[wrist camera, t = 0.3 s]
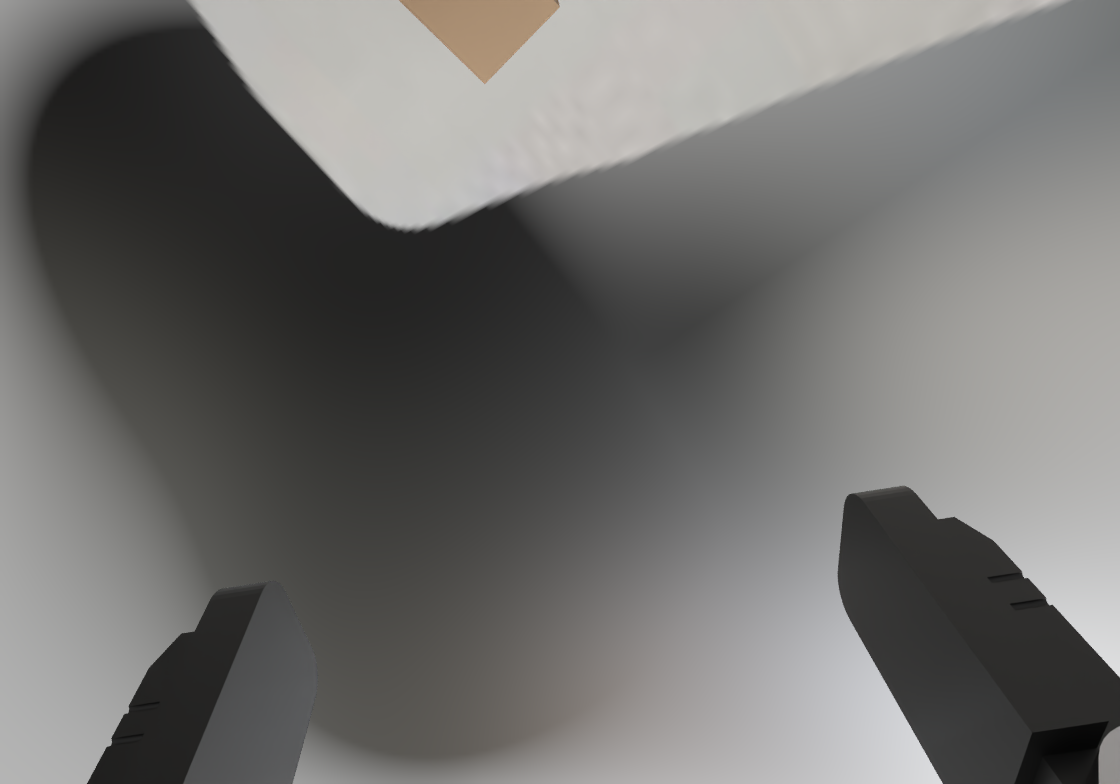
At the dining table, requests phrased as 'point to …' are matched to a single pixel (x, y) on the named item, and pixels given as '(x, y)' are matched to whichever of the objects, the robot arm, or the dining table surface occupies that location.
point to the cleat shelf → (483, 28)
